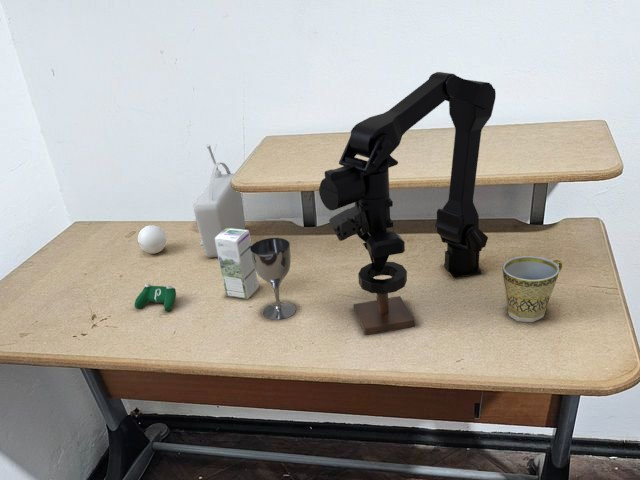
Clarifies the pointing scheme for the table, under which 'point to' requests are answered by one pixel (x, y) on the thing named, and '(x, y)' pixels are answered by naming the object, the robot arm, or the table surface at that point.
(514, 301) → the ceramic cup
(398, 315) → the peg stand
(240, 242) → the syrup box
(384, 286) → the ring
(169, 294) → the gaming controller
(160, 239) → the white light bulb
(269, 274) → the silver metal goblet
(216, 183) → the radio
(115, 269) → the table surface
